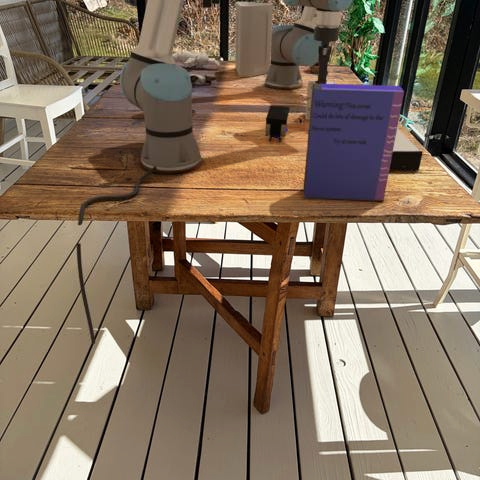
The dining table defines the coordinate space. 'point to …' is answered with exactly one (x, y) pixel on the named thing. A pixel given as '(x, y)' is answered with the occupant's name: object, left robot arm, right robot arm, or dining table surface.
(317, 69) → the anatomical model
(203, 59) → the toy
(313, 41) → the right robot arm
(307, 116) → the box
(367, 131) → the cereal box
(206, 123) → the dining table surface
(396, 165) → the disc drive
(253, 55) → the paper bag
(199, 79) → the figurine
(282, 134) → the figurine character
